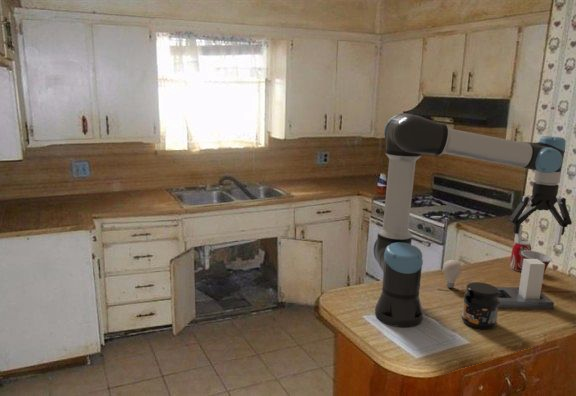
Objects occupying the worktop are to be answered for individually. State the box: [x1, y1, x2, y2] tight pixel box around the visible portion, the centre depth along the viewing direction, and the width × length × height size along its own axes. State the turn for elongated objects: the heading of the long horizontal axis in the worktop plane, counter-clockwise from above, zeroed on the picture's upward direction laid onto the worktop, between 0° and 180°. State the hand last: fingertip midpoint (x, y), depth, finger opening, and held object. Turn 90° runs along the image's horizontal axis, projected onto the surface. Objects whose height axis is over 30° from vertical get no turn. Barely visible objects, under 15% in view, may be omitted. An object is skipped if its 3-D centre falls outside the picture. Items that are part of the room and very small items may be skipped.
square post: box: [519, 259, 545, 299], centre depth 162 cm, size 5×5×15 cm
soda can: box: [509, 239, 532, 272], centre depth 192 cm, size 7×7×12 cm
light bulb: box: [442, 259, 462, 289], centre depth 172 cm, size 7×7×11 cm
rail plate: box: [495, 286, 555, 310], centre depth 163 cm, size 22×12×2 cm, turn 89°
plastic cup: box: [521, 250, 553, 277], centre depth 178 cm, size 11×11×12 cm
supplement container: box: [461, 281, 500, 330], centre depth 146 cm, size 10×10×12 cm
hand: (536, 243), depth 159 cm, fingers open, 13 cm apart
